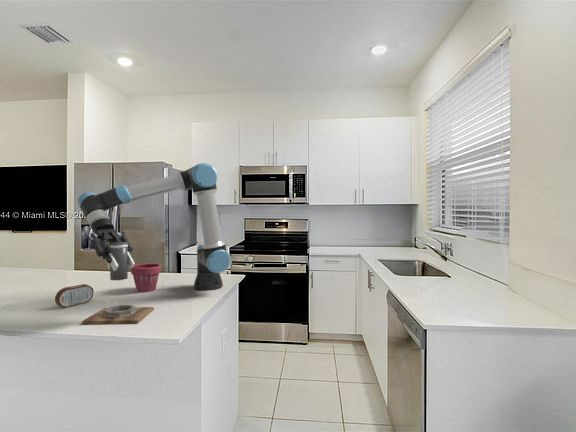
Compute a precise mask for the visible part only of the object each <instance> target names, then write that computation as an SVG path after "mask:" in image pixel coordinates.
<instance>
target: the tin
mask: <svg viewBox="0 0 576 432" xmlns="http://www.w3.org/2000/svg"><path fill="white" fill-rule="evenodd" d="M94 293H95V292H94V288H93V287H92V286H91V285H88V284H86V283H84V284H78V285H72V286H65V287H63V288H61V289H60V290H58V291H57V292H56V295H55V297H54V302H55V304H56V306H58V307H62V308H69V307H74V306H79V305H83V304H86V303H88V302H89V301H91V300H92V298H93V297H94Z"/></svg>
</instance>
